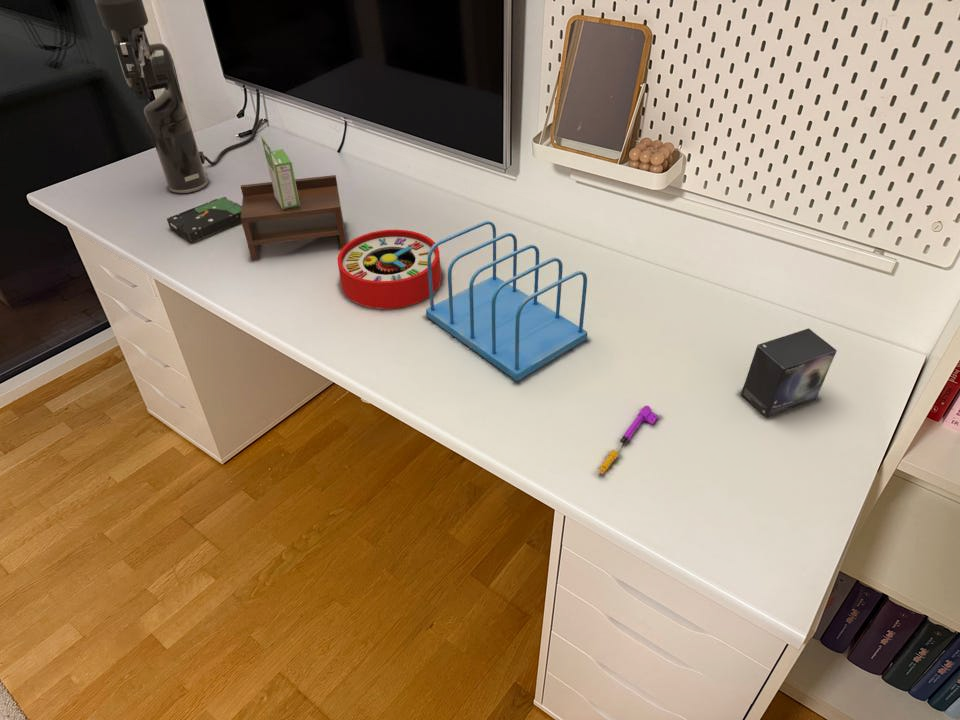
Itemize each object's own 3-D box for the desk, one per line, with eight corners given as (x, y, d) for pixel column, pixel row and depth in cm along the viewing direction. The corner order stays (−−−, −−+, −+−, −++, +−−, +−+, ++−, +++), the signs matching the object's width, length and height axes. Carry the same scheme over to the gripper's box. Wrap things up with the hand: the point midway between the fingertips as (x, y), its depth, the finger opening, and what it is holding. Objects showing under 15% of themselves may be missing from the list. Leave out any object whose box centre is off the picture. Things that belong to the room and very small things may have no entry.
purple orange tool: (643, 407, 110) (596, 472, 100) (646, 402, 109) (598, 467, 99) (658, 416, 109) (612, 482, 99) (661, 412, 108) (614, 478, 98)
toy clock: (316, 257, 136) (393, 219, 147) (321, 282, 139) (395, 243, 151) (383, 296, 125) (460, 252, 136) (386, 321, 129) (461, 277, 140)
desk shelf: (253, 234, 155) (240, 185, 147) (343, 224, 158) (335, 174, 150) (251, 260, 146) (238, 209, 139) (346, 248, 149) (338, 197, 142)
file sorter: (587, 340, 124) (595, 267, 114) (516, 383, 115) (518, 309, 105) (494, 282, 138) (494, 213, 128) (425, 317, 130) (419, 246, 120)
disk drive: (192, 245, 152) (250, 219, 160) (188, 233, 150) (247, 208, 158) (169, 229, 158) (226, 205, 166) (165, 218, 156) (223, 194, 164)
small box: (766, 420, 108) (784, 369, 101) (738, 394, 112) (754, 343, 105) (819, 400, 111) (839, 350, 104) (789, 376, 115) (808, 326, 109)
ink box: (301, 206, 143) (288, 143, 135) (282, 210, 142) (268, 147, 133) (292, 192, 148) (280, 131, 139) (274, 196, 147) (260, 135, 138)
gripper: (133, 5, 116) (163, 102, 126) (146, -14, 127) (173, 77, 137) (85, 8, 115) (120, 106, 125) (102, -12, 125) (133, 80, 136)
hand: (148, 90), depth 131 cm, fingers open, 8 cm apart
